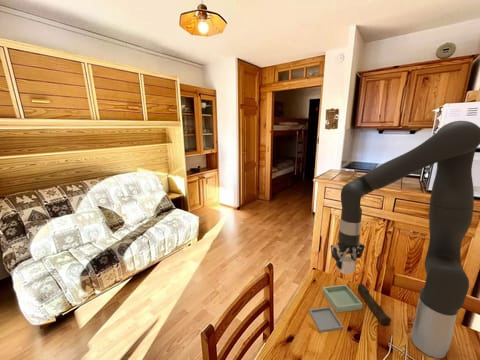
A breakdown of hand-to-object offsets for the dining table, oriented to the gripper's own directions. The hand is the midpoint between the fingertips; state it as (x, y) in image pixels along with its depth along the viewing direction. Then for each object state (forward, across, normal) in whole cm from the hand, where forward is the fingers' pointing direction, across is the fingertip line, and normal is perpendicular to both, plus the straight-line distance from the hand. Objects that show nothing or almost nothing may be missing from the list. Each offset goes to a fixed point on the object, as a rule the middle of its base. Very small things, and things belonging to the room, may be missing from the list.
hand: (345, 267), depth 87 cm
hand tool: (+18, +10, -4) cm, 21 cm away
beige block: (+1, 0, 0) cm, 1 cm away
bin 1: (+17, -12, -8) cm, 22 cm away
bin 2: (+17, 0, 0) cm, 17 cm away
